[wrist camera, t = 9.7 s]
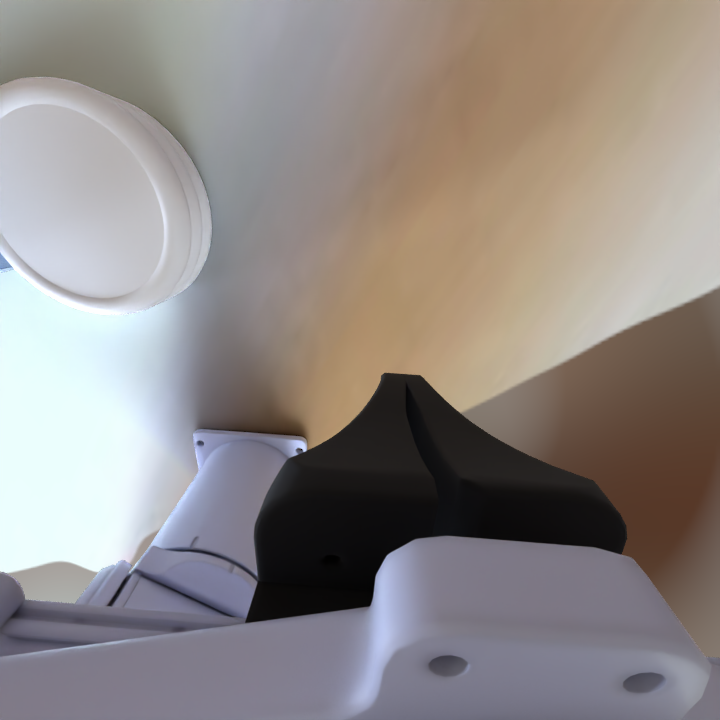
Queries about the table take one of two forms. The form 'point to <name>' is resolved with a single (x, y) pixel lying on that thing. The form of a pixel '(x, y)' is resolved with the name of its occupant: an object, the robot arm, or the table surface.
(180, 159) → the white round dish
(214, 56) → the table surface
